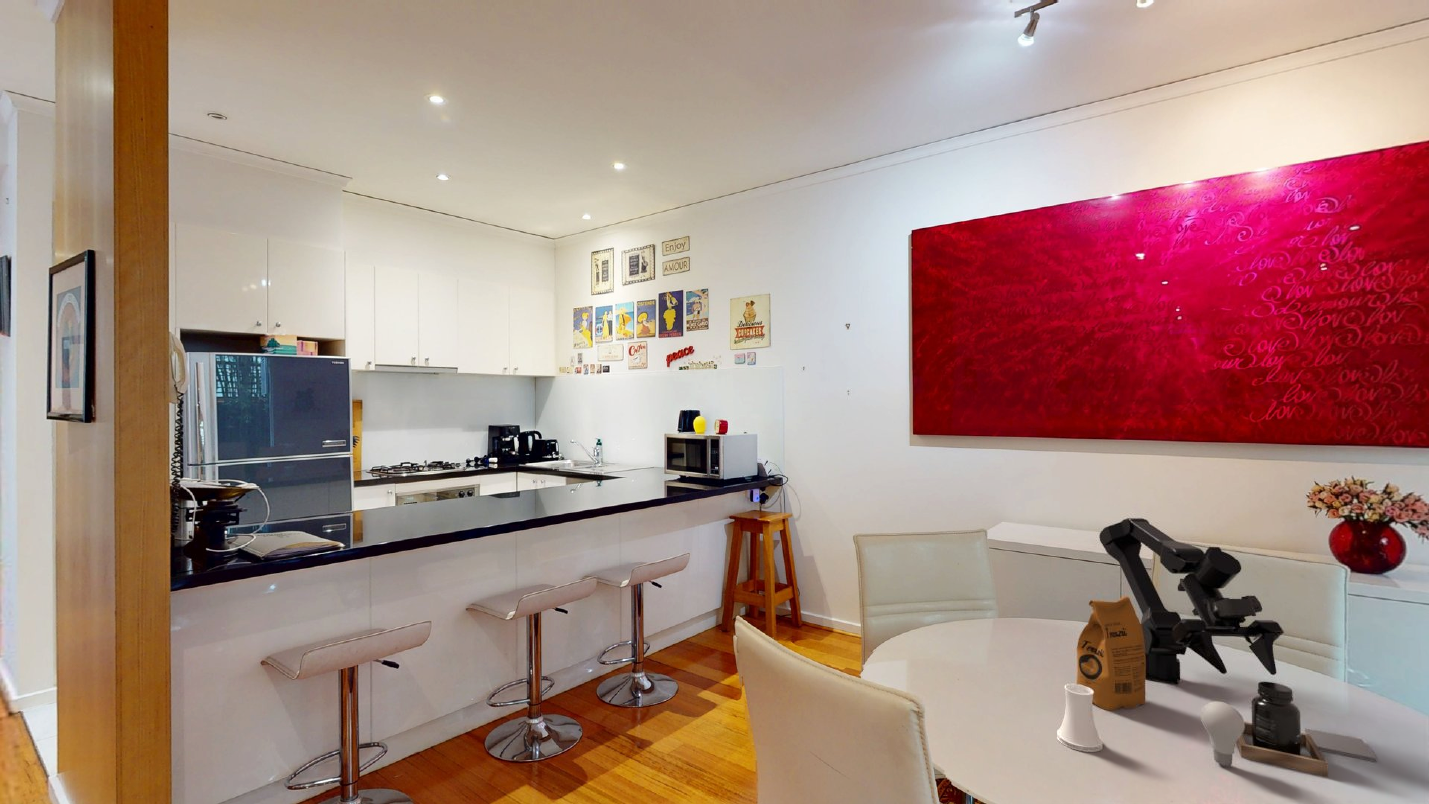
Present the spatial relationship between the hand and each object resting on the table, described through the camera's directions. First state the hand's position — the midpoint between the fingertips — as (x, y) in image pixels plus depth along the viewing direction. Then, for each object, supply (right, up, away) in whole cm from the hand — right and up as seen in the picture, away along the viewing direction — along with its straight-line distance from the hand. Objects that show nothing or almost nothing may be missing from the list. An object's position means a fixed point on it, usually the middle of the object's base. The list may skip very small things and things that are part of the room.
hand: (1249, 673), depth 124 cm
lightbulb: (-14, -12, -11) cm, 21 cm away
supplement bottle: (0, -12, -6) cm, 14 cm away
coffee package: (-18, -12, +15) cm, 26 cm away
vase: (-35, -12, -3) cm, 37 cm away
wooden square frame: (0, -12, -6) cm, 13 cm away
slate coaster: (+13, -12, -4) cm, 18 cm away
